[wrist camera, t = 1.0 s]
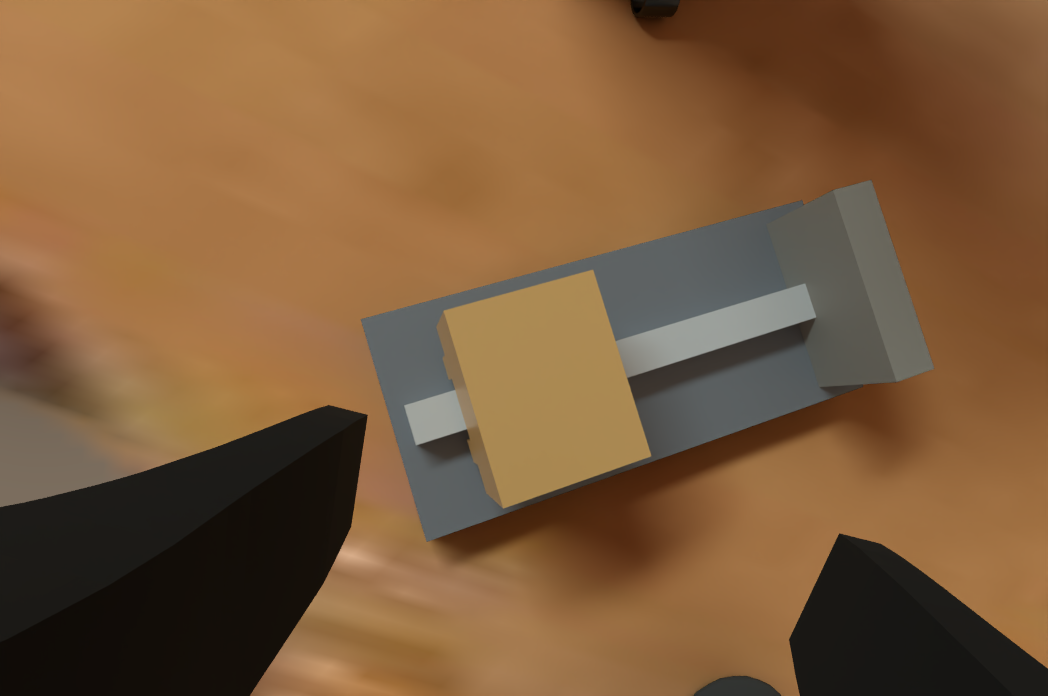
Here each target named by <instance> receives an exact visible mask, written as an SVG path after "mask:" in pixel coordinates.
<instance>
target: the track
mask: <svg viewBox="0 0 1048 696" xmlns="http://www.w3.org/2000/svg"><path fill="white" fill-rule="evenodd" d="M590 270H593V271H594V274H595V277H596V280H597V284H598V287H599V290H600V293H601V296H602V300H603V303H604V306H605V309H606V312H607V316H608V319H609V322H610V325H611V328H612V332H613V335H614V338H615V341H616V344H617V347H618V351H619V354H620V357H621V360H622V363H623V367H624V370H625V373H626V376H627V379H628V383H629V386H630V389H631V392H632V395H633V399H634V402H635V405H636V408H637V411H638V415H639V418H640V421H641V424H642V427H643V431H644V434H645V437H646V440H647V443H648V446H649V450H650V453H651V457H648V458H645V459H642V460H639V461H637V462H634V463H631V464H628V465H625V466H622V467H620V468H617V469H614V470H611V471H608V472H605V473H603V474H600V475H597V476H594V477H591V478H588V479H586V480H583V481H580V482H577V483H574V484H571V485H569V486H566V487H563V488H560V489H557V490H554V491H552V492H549V493H546V494H543V495H540V496H537V497H535V498H532V499H529V500H526V501H523V502H520V503H518V504H515V505H512V506H509V507H506V508H504V509H503V508H502V507H501V506H500V505H499V504H498V503H497V502H495V501H494V500H493V499H492V498H491V497H490V496H489V495H488V494H487V493H486V491H485V487H484V484H483V481H482V477H481V474H480V471H479V467H478V465H477V464H476V463H474V462H473V458H472V455H471V452H470V449H469V445H468V442H467V440H468V439H470V438H469V434H468V431H467V428H466V424H465V421H464V418H463V414H462V411H461V408H460V404H459V401H458V398H457V394H456V391H455V388H454V384H453V381H452V379H451V380H449V379H448V375H447V372H446V369H445V365H444V362H443V359H442V358H443V357H444V351H443V348H442V345H441V341H440V338H439V335H438V331H437V328H436V327H437V324H438V322H439V320H440V318H441V315H442V313H443V311H444V310H448V309H451V308H455V307H459V306H462V305H466V304H470V303H473V302H477V301H480V300H484V299H488V298H491V297H495V296H499V295H502V294H506V293H510V292H513V291H517V290H520V289H524V288H528V287H531V286H535V285H539V284H542V283H546V282H550V281H553V280H557V279H561V278H564V277H568V276H571V275H575V274H579V273H582V272H586V271H590ZM361 322H362V325H363V328H364V332H365V335H366V338H367V342H368V345H369V349H370V352H371V355H372V359H373V362H374V366H375V369H376V372H377V376H378V379H379V382H380V386H381V389H382V393H383V396H384V399H385V403H386V406H387V409H388V413H389V416H390V420H391V423H392V426H393V430H394V433H395V436H396V440H397V443H398V447H399V450H400V453H401V457H402V460H403V463H404V467H405V470H406V474H407V477H408V480H409V484H410V487H411V491H412V494H413V497H414V501H415V504H416V507H417V511H418V514H419V518H420V521H421V524H422V528H423V531H424V534H425V538H426V541H427V542H428V541H431V540H433V539H436V538H439V537H442V536H445V535H447V534H450V533H453V532H456V531H459V530H462V529H464V528H467V527H470V526H473V525H476V524H478V523H481V522H484V521H487V520H490V519H492V518H495V517H498V516H501V515H504V514H507V513H509V512H512V511H515V510H518V509H521V508H523V507H526V506H529V505H532V504H535V503H537V502H540V501H543V500H546V499H549V498H552V497H554V496H557V495H560V494H563V493H566V492H568V491H571V490H574V489H577V488H580V487H583V486H585V485H588V484H591V483H594V482H597V481H599V480H602V479H605V478H608V477H611V476H613V475H616V474H619V473H622V472H625V471H628V470H630V469H633V468H636V467H639V466H642V465H644V464H647V463H650V462H653V461H656V460H658V459H661V458H664V457H667V456H670V455H673V454H675V453H678V452H681V451H684V450H687V449H689V448H692V447H695V446H698V445H701V444H703V443H706V442H709V441H712V440H715V439H718V438H720V437H723V436H726V435H729V434H732V433H734V432H737V431H740V430H743V429H746V428H749V427H751V426H754V425H757V424H760V423H763V422H765V421H768V420H771V419H774V418H777V417H779V416H782V415H785V414H788V413H791V412H794V411H796V410H799V409H802V408H805V407H808V406H810V405H813V404H816V403H819V402H822V401H824V400H827V399H830V398H833V397H836V396H839V395H841V394H844V393H847V392H850V391H853V390H855V389H858V388H861V387H863V384H876V383H891V382H899V381H901V380H904V379H907V378H910V377H913V376H915V375H918V374H921V373H924V372H926V371H929V370H932V369H934V366H933V363H932V360H931V357H930V354H929V351H928V348H927V345H926V342H925V339H924V336H923V333H922V330H921V327H920V324H919V321H918V318H917V315H916V312H915V309H914V306H913V303H912V300H911V297H910V294H909V291H908V288H907V285H906V282H905V279H904V276H903V273H902V270H901V267H900V264H899V261H898V258H897V255H896V252H895V249H894V246H893V243H892V240H891V237H890V234H889V231H888V228H887V225H886V222H885V220H884V217H883V214H882V211H881V208H880V205H879V202H878V199H877V196H876V193H875V190H874V187H873V184H872V181H871V180H869V181H865V182H861V183H858V184H854V185H850V186H847V187H843V188H839V189H835V190H832V191H830V192H828V193H827V194H825V195H823V196H821V197H819V198H817V199H815V200H813V201H811V202H809V203H807V204H805V205H804V204H803V201H802V200H801V201H798V202H794V203H790V204H786V205H783V206H779V207H775V208H772V209H768V210H764V211H760V212H757V213H753V214H749V215H746V216H742V217H738V218H735V219H731V220H727V221H723V222H720V223H716V224H712V225H709V226H705V227H701V228H697V229H694V230H690V231H686V232H683V233H679V234H675V235H672V236H668V237H664V238H660V239H657V240H653V241H649V242H646V243H642V244H638V245H634V246H631V247H627V248H623V249H620V250H616V251H612V252H609V253H605V254H601V255H597V256H594V257H590V258H586V259H583V260H579V261H575V262H571V263H568V264H564V265H560V266H557V267H553V268H549V269H546V270H542V271H538V272H534V273H531V274H527V275H523V276H520V277H516V278H512V279H508V280H505V281H501V282H497V283H494V284H490V285H486V286H483V287H479V288H475V289H471V290H468V291H464V292H460V293H457V294H453V295H449V296H445V297H442V298H438V299H434V300H431V301H427V302H423V303H420V304H416V305H412V306H408V307H405V308H401V309H397V310H394V311H390V312H386V313H383V314H379V315H375V316H371V317H368V318H364V319H361Z"/></svg>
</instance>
